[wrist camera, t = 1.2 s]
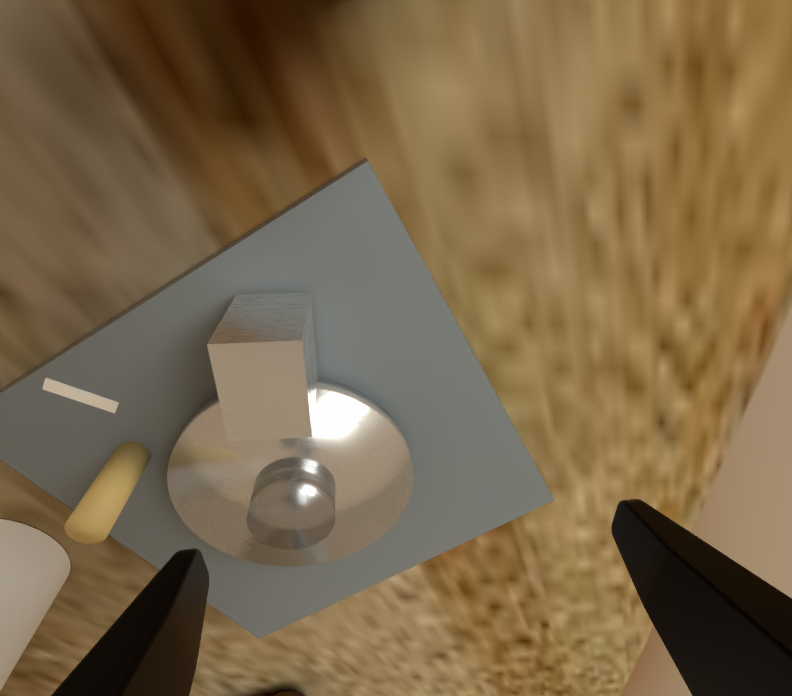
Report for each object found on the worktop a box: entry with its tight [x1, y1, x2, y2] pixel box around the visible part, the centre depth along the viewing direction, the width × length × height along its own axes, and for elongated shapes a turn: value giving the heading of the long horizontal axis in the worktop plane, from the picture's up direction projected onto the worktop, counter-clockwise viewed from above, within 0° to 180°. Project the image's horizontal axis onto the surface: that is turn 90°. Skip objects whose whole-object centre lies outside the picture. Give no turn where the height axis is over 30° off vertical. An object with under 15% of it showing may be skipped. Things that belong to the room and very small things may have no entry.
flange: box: [167, 292, 414, 566], centre depth 20 cm, size 12×15×4 cm
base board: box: [0, 158, 554, 638], centre depth 22 cm, size 22×22×6 cm
